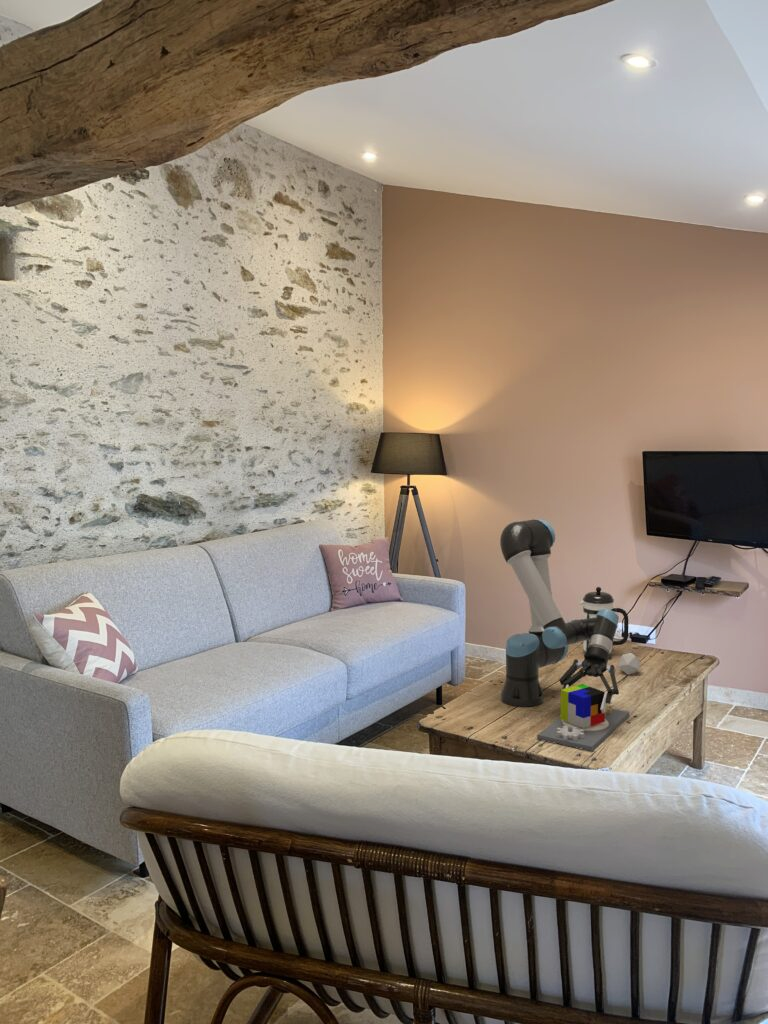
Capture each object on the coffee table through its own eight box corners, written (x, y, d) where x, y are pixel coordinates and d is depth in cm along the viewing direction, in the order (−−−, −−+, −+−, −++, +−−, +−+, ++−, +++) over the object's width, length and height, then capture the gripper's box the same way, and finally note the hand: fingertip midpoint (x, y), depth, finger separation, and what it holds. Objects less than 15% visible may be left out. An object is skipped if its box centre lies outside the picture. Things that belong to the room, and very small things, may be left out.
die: (629, 670, 334) (615, 652, 333) (647, 663, 328) (633, 645, 327) (625, 682, 327) (611, 664, 326) (644, 675, 322) (629, 657, 321)
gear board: (591, 751, 250) (592, 738, 250) (537, 739, 260) (537, 726, 260) (629, 716, 280) (629, 704, 279) (578, 706, 290) (579, 695, 289)
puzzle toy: (583, 728, 262) (583, 698, 261) (560, 719, 270) (560, 689, 269) (604, 721, 267) (605, 692, 266) (581, 712, 276) (582, 684, 275)
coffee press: (598, 662, 342) (599, 592, 339) (572, 653, 356) (573, 585, 353) (628, 656, 350) (630, 587, 347) (602, 648, 364) (603, 581, 361)
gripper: (636, 662, 274) (622, 720, 263) (566, 651, 287) (549, 706, 276) (632, 650, 269) (617, 708, 258) (561, 640, 282) (544, 695, 271)
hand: (582, 707), depth 267 cm, fingers closed on puzzle toy, 12 cm apart
